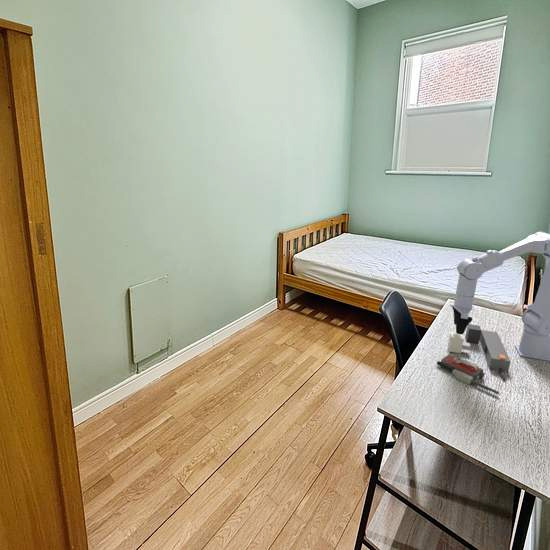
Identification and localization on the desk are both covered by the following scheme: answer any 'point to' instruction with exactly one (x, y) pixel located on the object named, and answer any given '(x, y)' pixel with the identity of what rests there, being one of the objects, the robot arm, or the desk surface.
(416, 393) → the desk surface
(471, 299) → the robot arm
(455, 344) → the block
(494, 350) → the grey slotted block
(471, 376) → the walkie-talkie
